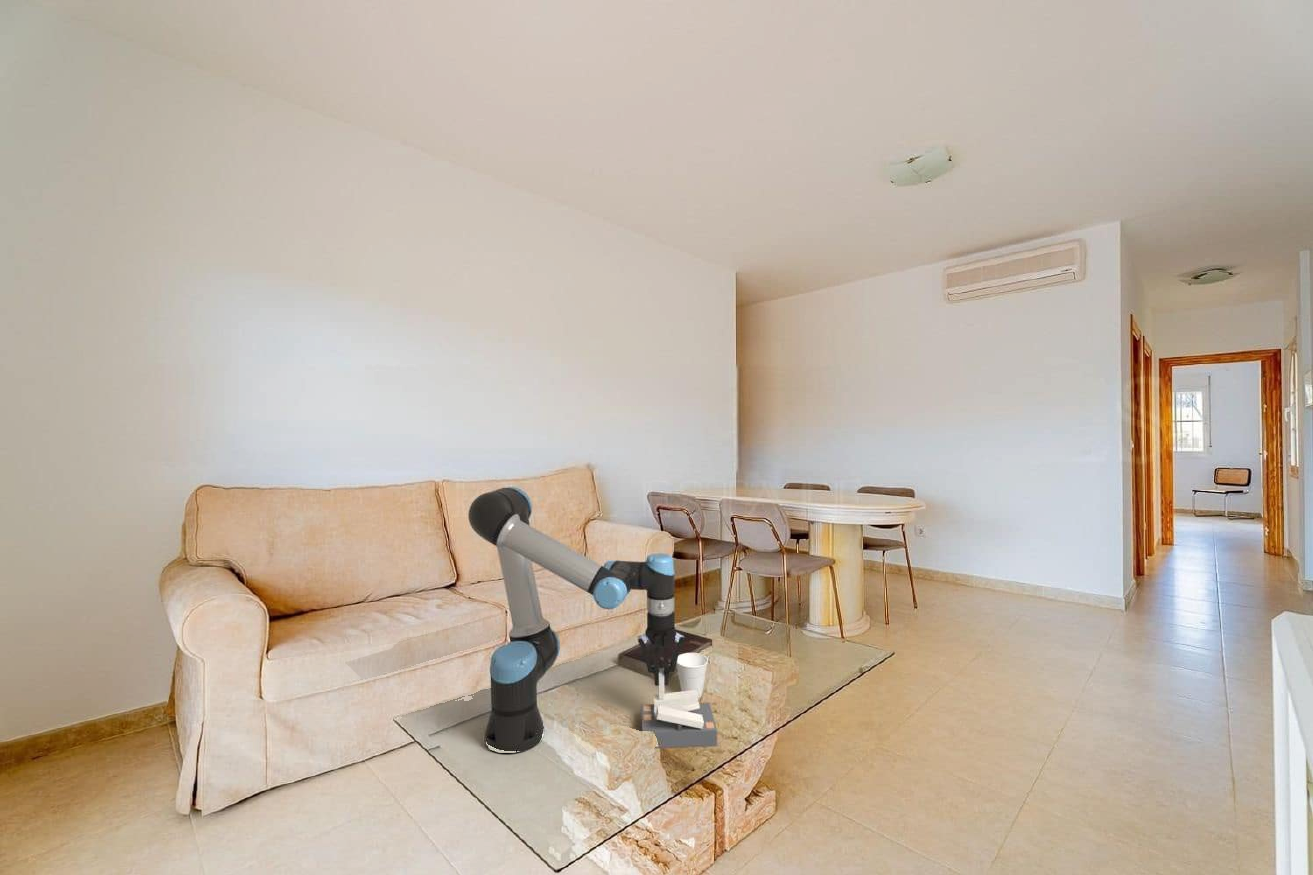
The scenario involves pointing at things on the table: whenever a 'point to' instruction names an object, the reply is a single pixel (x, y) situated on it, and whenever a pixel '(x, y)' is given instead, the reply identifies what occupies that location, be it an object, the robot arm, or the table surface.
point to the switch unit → (680, 729)
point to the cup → (692, 671)
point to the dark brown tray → (661, 653)
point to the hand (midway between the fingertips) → (661, 696)
